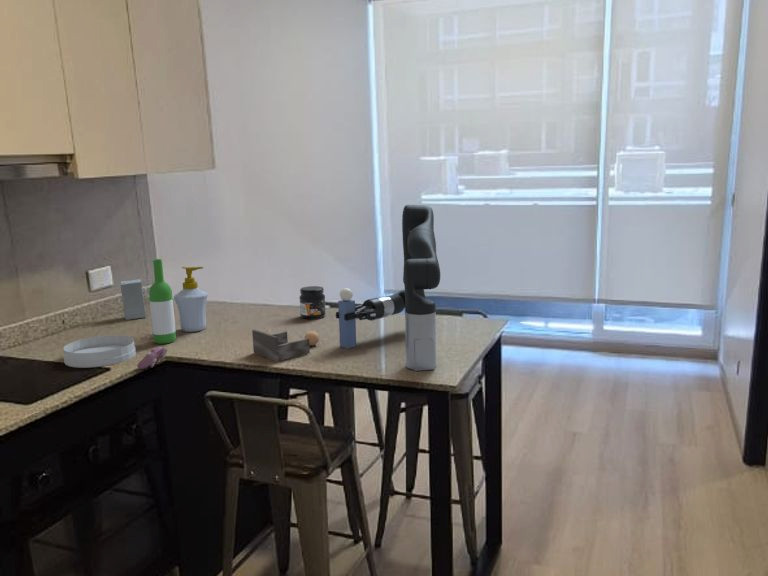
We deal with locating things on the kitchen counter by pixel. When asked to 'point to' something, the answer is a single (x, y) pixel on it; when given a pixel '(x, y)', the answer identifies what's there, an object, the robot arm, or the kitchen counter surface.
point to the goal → (278, 346)
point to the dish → (99, 351)
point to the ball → (312, 338)
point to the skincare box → (133, 299)
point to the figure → (348, 327)
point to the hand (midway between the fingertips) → (340, 316)
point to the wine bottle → (161, 307)
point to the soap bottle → (191, 304)
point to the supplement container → (312, 302)
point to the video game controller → (152, 358)
